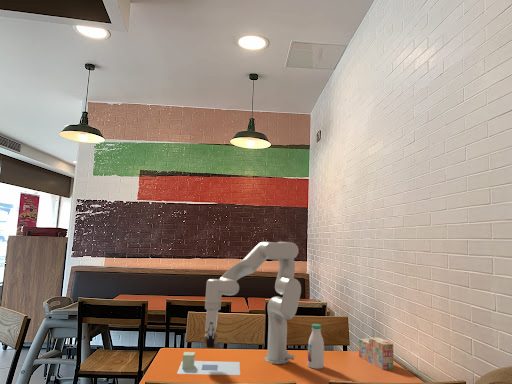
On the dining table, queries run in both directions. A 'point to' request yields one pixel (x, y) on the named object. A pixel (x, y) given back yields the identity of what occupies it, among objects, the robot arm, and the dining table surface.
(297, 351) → the dining table surface
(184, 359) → the sage block
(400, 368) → the dining table surface
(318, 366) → the milk bottle
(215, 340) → the walnut block
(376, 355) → the stack of blocks
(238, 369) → the board
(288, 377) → the dining table surface
